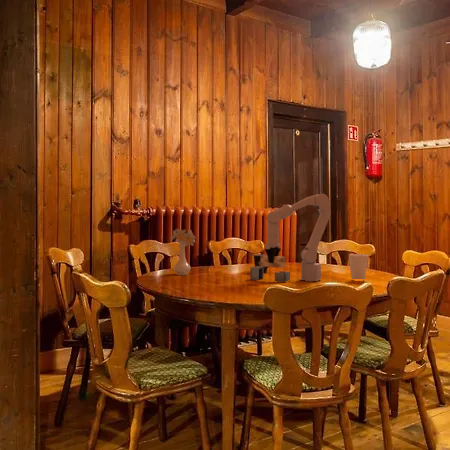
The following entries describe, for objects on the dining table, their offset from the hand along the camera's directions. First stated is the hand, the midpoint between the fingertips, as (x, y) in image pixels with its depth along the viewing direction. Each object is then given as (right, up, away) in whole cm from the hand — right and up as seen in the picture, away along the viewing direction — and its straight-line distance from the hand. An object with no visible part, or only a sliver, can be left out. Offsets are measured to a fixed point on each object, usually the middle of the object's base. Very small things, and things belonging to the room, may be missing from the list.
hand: (272, 262), depth 240 cm
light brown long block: (0, -2, 0) cm, 2 cm away
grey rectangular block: (-8, -9, +4) cm, 13 cm away
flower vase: (-47, -9, +22) cm, 52 cm away
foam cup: (+43, -9, +1) cm, 44 cm away
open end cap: (+5, -9, -2) cm, 10 cm away
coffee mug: (-2, -8, +31) cm, 32 cm away
